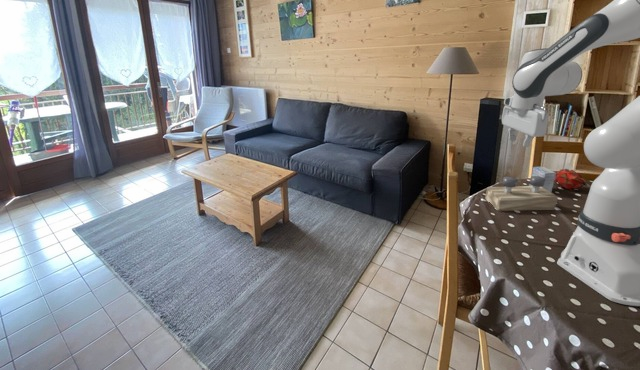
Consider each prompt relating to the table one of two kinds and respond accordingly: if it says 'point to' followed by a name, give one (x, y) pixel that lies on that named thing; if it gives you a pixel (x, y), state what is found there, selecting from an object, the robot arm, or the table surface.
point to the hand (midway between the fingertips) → (518, 143)
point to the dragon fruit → (569, 179)
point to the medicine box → (545, 174)
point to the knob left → (509, 183)
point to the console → (521, 198)
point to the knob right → (537, 183)
